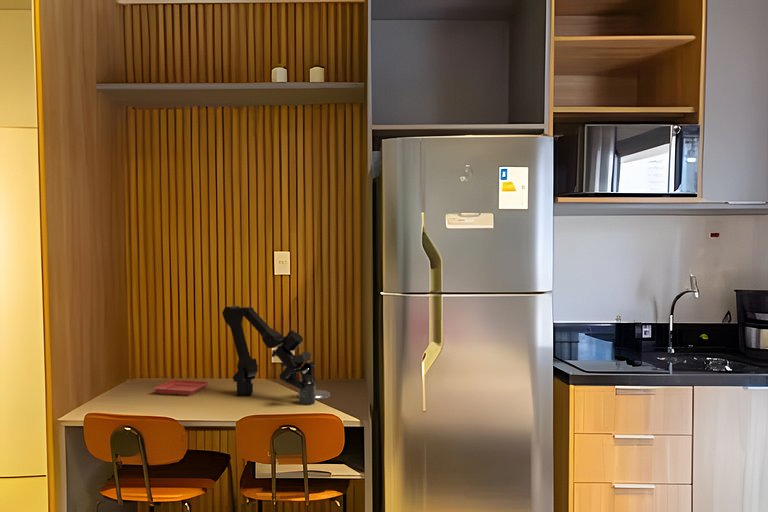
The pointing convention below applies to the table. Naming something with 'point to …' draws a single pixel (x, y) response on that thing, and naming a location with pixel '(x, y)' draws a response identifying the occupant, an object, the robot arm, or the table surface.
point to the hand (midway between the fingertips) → (309, 386)
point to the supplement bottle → (307, 390)
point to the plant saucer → (181, 387)
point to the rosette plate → (320, 394)
